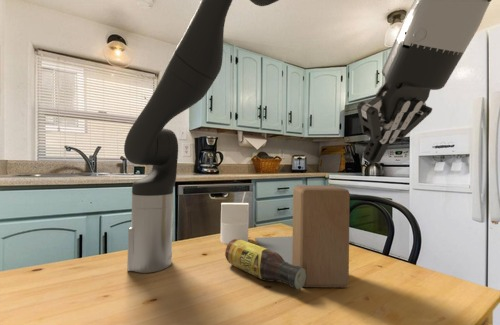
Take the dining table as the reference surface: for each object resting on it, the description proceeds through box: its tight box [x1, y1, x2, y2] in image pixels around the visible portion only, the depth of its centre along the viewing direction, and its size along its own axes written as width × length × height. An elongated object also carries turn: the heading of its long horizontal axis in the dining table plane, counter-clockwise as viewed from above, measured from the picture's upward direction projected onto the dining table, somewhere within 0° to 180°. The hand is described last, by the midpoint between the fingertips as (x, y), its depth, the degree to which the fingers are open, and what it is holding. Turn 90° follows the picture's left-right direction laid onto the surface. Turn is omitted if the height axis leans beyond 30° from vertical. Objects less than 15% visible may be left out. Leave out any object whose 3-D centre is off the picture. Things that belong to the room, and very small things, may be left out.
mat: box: [254, 235, 293, 265], centre depth 71 cm, size 16×24×1 cm, turn 10°
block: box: [292, 184, 351, 288], centre depth 54 cm, size 10×10×20 cm
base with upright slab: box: [220, 202, 250, 245], centre depth 79 cm, size 9×9×12 cm
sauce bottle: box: [224, 239, 306, 290], centre depth 54 cm, size 6×6×20 cm
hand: (370, 160), depth 39 cm, fingers closed
